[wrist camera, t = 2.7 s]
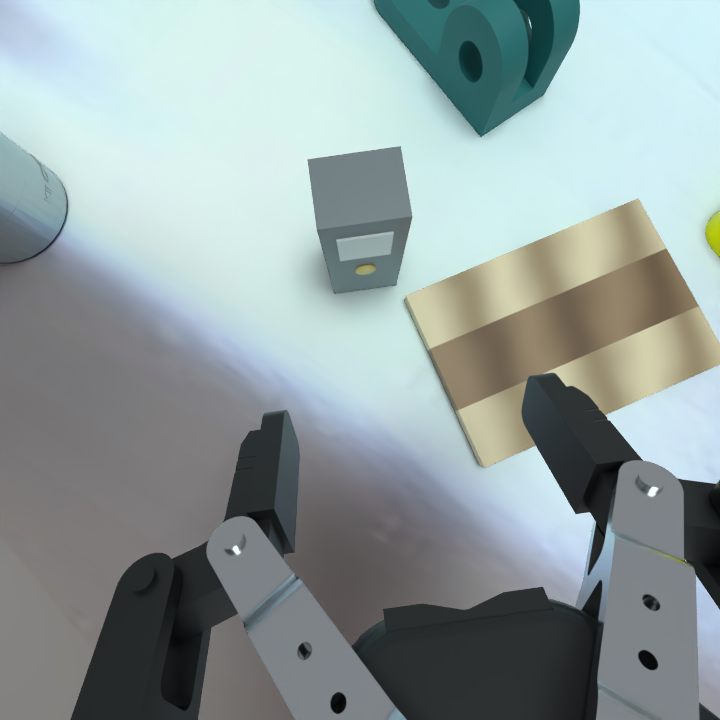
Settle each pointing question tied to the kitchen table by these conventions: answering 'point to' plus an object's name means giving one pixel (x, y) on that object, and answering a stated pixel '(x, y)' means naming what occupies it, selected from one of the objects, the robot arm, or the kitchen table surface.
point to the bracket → (486, 49)
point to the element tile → (714, 232)
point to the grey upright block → (361, 216)
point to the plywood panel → (563, 326)
